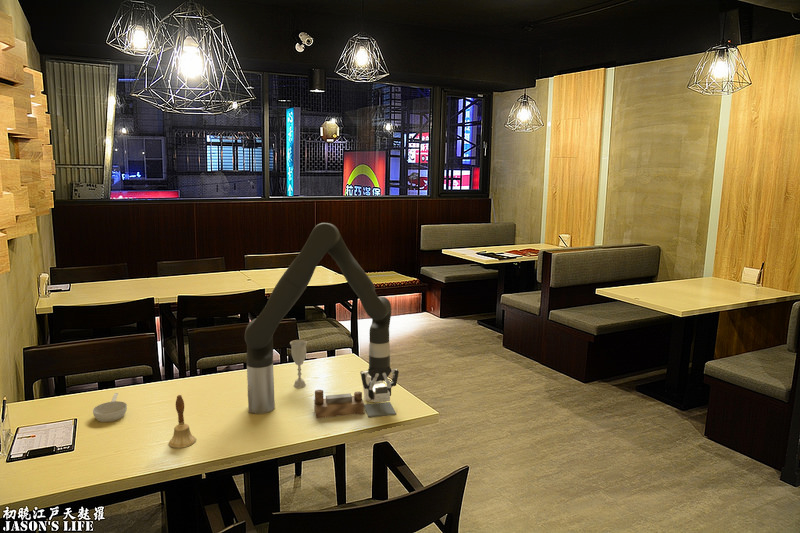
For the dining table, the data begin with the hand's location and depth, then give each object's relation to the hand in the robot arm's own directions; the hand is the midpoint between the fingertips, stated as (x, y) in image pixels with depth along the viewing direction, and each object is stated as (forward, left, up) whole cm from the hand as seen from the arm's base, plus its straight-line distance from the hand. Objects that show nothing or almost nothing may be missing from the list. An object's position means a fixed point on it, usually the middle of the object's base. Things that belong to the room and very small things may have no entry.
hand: (379, 397), depth 210 cm
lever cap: (0, 0, +1) cm, 1 cm away
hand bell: (-67, -9, -5) cm, 67 cm away
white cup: (0, +11, -5) cm, 12 cm away
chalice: (-27, +30, -5) cm, 40 cm away
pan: (-94, +20, -5) cm, 96 cm away
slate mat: (0, 0, -5) cm, 5 cm away
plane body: (-15, +2, -5) cm, 15 cm away
